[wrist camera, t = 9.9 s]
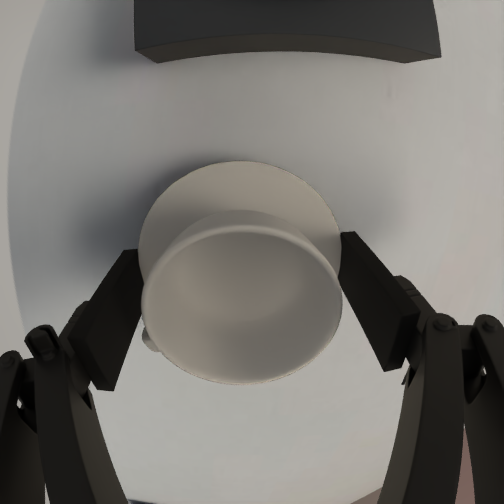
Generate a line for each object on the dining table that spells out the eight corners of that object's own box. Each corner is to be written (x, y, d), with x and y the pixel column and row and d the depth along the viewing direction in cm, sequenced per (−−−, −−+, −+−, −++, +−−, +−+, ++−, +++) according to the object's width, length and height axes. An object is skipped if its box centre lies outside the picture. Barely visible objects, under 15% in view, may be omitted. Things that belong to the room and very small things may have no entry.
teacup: (285, 119, 12) (312, 123, 7) (361, 290, 16) (394, 346, 12) (103, 228, 13) (59, 276, 9) (209, 357, 18) (204, 419, 13)
